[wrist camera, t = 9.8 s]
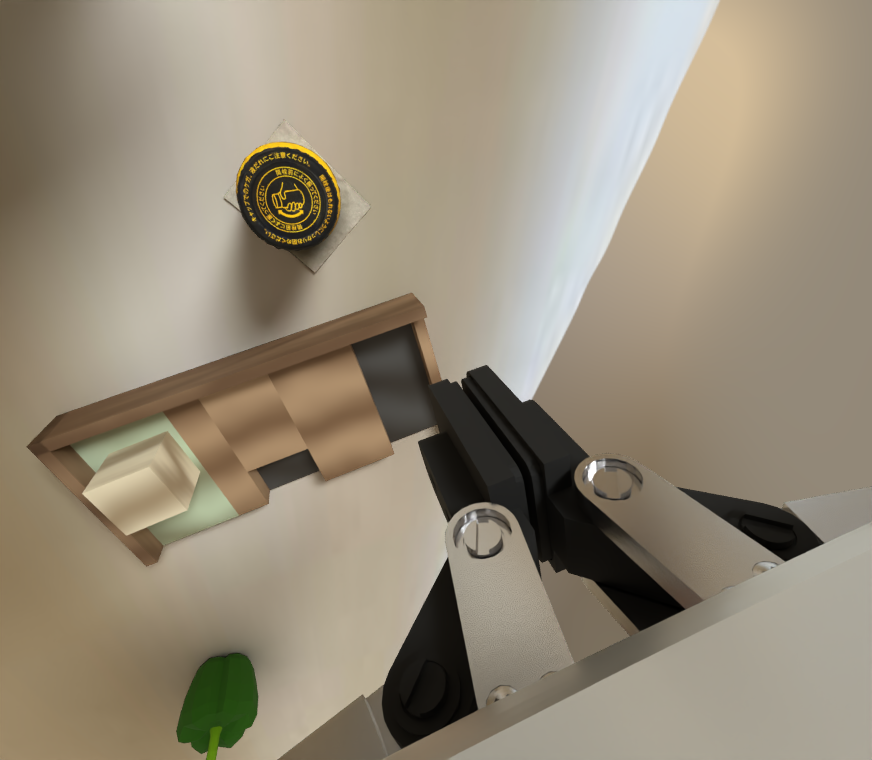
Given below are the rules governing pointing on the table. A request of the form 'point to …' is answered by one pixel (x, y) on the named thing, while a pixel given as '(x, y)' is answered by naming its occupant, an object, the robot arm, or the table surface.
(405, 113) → the table surface
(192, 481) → the birch block
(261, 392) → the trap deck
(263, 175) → the condiment
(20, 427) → the table surface
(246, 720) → the bell pepper
